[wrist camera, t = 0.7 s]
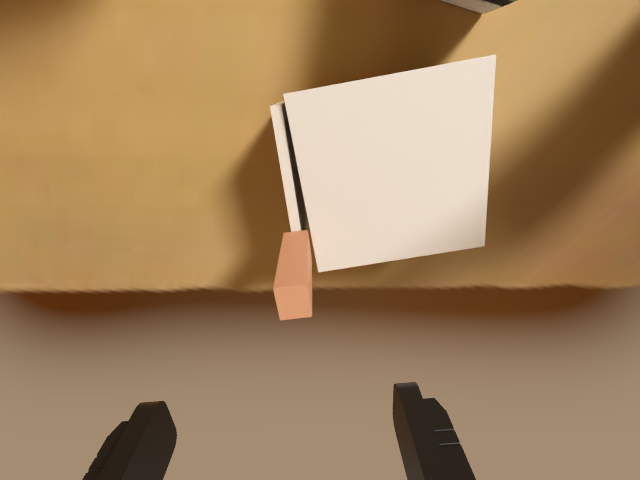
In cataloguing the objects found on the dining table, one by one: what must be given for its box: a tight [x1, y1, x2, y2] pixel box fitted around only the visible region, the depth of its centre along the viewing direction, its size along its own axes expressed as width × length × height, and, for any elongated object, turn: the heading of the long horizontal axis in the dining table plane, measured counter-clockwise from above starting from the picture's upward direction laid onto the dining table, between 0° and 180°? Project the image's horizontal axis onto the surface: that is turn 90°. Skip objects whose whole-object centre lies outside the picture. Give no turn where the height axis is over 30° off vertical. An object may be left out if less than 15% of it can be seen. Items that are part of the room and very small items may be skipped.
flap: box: [270, 101, 312, 320], centre depth 26 cm, size 2×13×18 cm, turn 7°
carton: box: [283, 55, 496, 272], centre depth 29 cm, size 14×14×11 cm
